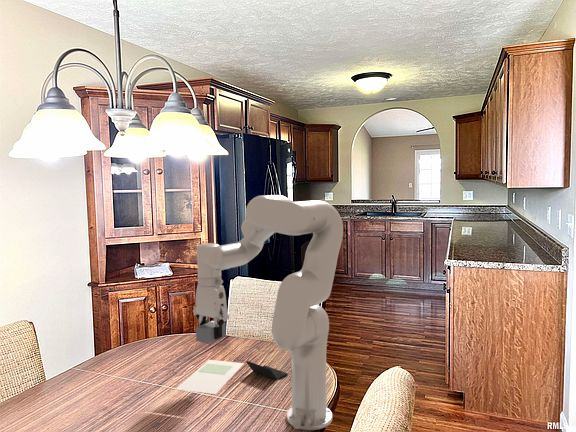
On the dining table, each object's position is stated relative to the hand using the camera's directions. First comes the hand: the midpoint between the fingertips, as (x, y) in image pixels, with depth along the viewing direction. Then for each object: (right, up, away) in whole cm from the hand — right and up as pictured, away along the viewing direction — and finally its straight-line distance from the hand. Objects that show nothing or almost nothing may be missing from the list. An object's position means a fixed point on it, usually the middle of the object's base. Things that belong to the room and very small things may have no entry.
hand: (211, 335), depth 141 cm
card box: (0, -1, 0) cm, 1 cm away
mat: (-1, -15, +6) cm, 16 cm away
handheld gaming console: (+18, -15, +6) cm, 24 cm away
